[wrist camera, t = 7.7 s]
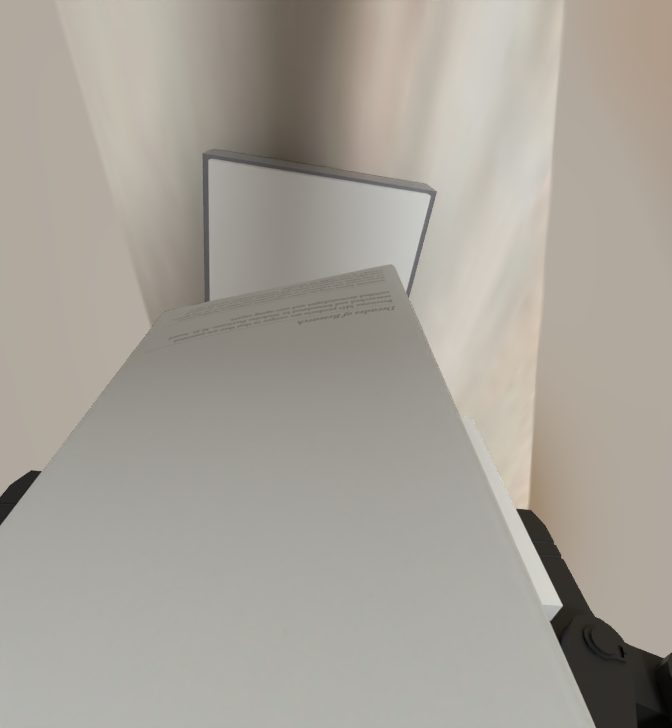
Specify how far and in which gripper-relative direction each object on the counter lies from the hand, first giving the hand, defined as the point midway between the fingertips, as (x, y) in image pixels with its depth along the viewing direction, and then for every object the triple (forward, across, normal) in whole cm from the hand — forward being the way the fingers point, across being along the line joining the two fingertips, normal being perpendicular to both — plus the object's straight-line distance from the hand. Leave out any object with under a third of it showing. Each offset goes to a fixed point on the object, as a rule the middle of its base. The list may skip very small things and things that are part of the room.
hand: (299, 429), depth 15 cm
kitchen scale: (+18, 0, -1) cm, 18 cm away
